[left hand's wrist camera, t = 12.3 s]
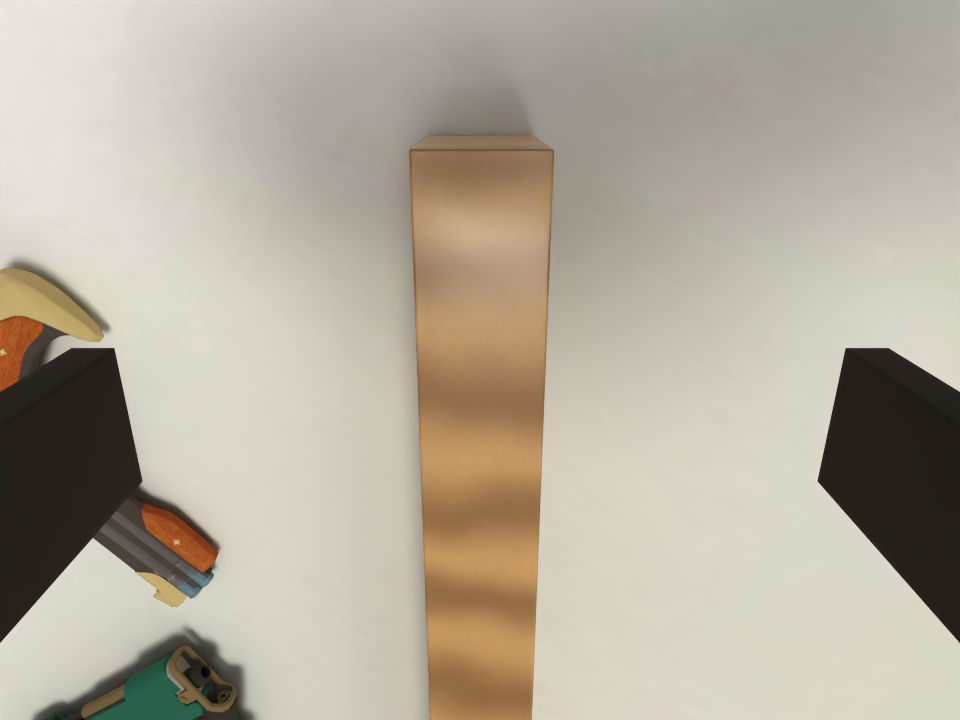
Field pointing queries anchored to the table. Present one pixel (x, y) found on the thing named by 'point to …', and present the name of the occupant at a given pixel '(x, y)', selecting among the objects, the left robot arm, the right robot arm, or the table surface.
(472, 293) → the post
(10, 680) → the table surface
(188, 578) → the toy gun
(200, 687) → the spray gun
